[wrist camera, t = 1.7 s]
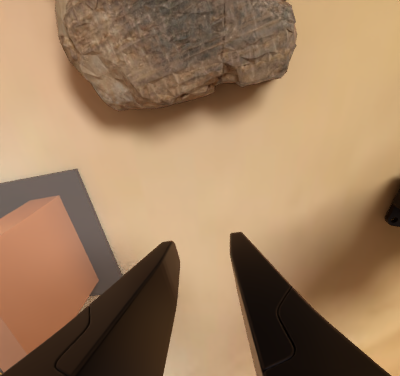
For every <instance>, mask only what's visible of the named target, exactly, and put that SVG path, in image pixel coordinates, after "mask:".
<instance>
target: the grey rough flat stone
mask: <svg viewBox="0 0 400 376" xmlns="http://www.w3.org/2000/svg"><path fill="white" fill-rule="evenodd" d="M55 12H56V20H57V28H58V36H59V40H60V42H61V44H62V46H63V49H64V51H65V53H66V55H67V57H68V59H69V61H70V62H71V64H72V65H73V66H74V67H75V68H76V69H77V70H78V71H79V72H80V73H81V74H82V76H83V77H84V78H85V79H87V80H88V81H89V82H90V83H91V84H92V86H93V87H94V89H95V91H96V92H97V93H98V95H99V96H100V97H101V99H102V100H103V101H104V102H105V103H106V104H107V105H108V106H110V107H112V108H113V109H116V110H118V111H122V110H127V109H140V108H148V109H154V108H160V107H165V106H169V105H172V104H176V103H181V102H185V101H189V100H193V99H196V98H200V97H202V96H207V95H209V94H212V93H214V89H215V86H216V85H218V84H221V83H233V82H235V83H236V84H238V85H239V86H241V87H244V86H247V85H251V84H258V83H261V82H264V81H268V80H272V79H279V78H281V77H282V76H283V75H284V74H285V73H286V72H287V69H288V65H289V61H290V59H291V56H292V54H293V51H294V49H295V47H296V38H297V32H296V28H295V22H296V21H295V17H294V13H293V10H292V5H290V4H289V3H287V2H286V0H56V6H55Z"/></svg>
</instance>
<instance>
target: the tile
mask: <svg viewBox="0 0 400 376" xmlns="http://www.w3.org/2000/svg"><path fill="white" fill-rule="evenodd" d="M98 281H99V279H98V277H97V275H96V273H95V271H94V269H93V266H92V264H91V262H90V260H89V258H88V256H87V254H86V252H85V249H84V247H83V245H82V243H81V241H80V239H79V237H78V234H77V232H76V230H75V228H74V226H73V224H72V222H71V220H70V217H69V215H68V213H67V211H66V209H65V207H64V205H63V203H62V200H61V198H60V196H59V195H58V196H52V197H46V198H41V199H35V200H30V201H28V202H27V203H25V204H23V205H22V206H20V207H19V208H17V209H15V210H14V211H12V212H10V213H9V214H7V215H5V216H4V217H2V218H0V368H1V370H2V371H3V372H5V371H7V370H8V369H9V368H10V367H12V366H13V365H14V364H16V363H17V362H18V361H20V360H21V359H22V358H24V357H25V356H26V355H28V354H29V353H30V352H31V351H33V350H34V349H35V348H37V347H38V346H39V345H41V344H42V343H43V342H45V341H46V340H47V339H48V338H50V337H51V336H52V335H54V334H55V333H56V332H57V331H59V330H60V329H61V328H62V327H64V326H65V325H66V324H67V323H68V322H70V321H71V320H72V319H73V318H74V317H76V316H77V314H78V313H79V311H80V309H81V308H82V306H83V305H84V303H85V302H86V300H87V298H88V297H89V295H90V294H91V292H92V290H93V289H94V287H95V286H96V284H97V283H98Z"/></svg>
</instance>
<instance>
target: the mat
mask: <svg viewBox="0 0 400 376" xmlns="http://www.w3.org/2000/svg"><path fill="white" fill-rule="evenodd" d="M58 195H59V196H60V198H61V200H62V203H63V205H64V207H65V209H66V211H67V213H68V215H69V217H70V220H71V222H72V224H73V226H74V228H75V230H76V232H77V234H78V237H79V239H80V241H81V243H82V245H83V247H84V249H85V252H86V254H87V256H88V258H89V260H90V262H91V264H92V266H93V269H94V271H95V273H96V275H97V277H98V279H99V281H98V283H97V284H96V286H95V287H94V289H93V290H92V292H91V294H90V295H89V296H95V295H101V294H103V293H104V292H105V291H106V290H107V289H108V288H110V287H111V286H112V285H113V284H114V283H115V282H117V281H118V280H119V279H120V278H121V277H122V274H121V272H120V269H119V267H118V265H117V262H116V260H115V258H114V255H113V253H112V250H111V248H110V246H109V243H108V241H107V239H106V236H105V234H104V231H103V229H102V227H101V224H100V222H99V220H98V217H97V215H96V212H95V210H94V208H93V205H92V203H91V201H90V198H89V196H88V193H87V191H86V189H85V186H84V184H83V182H82V179H81V177H80V174H79V172H78V170H77V169H73V170H68V171H62V172H57V173H52V174H47V175H41V176H36V177H31V178H26V179H20V180H15V181H10V182H5V183H0V218H2V217H4V216H5V215H7V214H9V213H10V212H12V211H14V210H15V209H17V208H19V207H20V206H22V205H23V204H25V203H27V202H28V201H30V200H35V199H41V198H46V197H52V196H58Z"/></svg>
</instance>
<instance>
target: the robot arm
mask: <svg viewBox="0 0 400 376" xmlns="http://www.w3.org/2000/svg"><path fill="white" fill-rule="evenodd" d="M394 217H395V218H394ZM392 218H394V219H393V220H391V219H392ZM385 221H386V222H387V223H388V224H390V225H393V226H399V227H400V189H399V191H398V193H397V195H396V197H395V199H394V201H393V203H392V205H391V207H390V209H389V210H388V212H387V214H386V216H385ZM230 257H231V262H232V267H233V272H234V277H235V282H236V287H237V291H238V296H239V301H240V306H241V310H242V315H243V319H244V323H245V328H246V332H247V336H248V340H249V345H250V349H251V353H252V358H253V362H254V366H255V371H256V375H257V376H391V375H390V374H389V373H387V372H386V371H385V370H384V369H382V368H381V367H380V366H379V365H378V364H377V363H375V362H374V361H373V360H372V359H371V358H370V357H368V356H367V355H366V354H365V353H364V352H362V351H361V350H360V349H359V348H358V347H357V346H355V345H354V344H353V343H352V342H351V341H350V340H348V339H347V338H346V337H345V336H344V335H343V334H341V333H340V332H339V331H338V330H337V329H336V328H334V327H333V326H332V325H331V324H330V323H329V322H328V321H326V320H325V319H324V318H323V317H322V316H321V315H320V314H319V313H318V312H316V311H315V310H314V309H313V308H312V307H311V306H310V305H309V304H308V303H307V302H306V301H305V300H304V299H303V298H302V297H301V295H300V294H299V293H298V292H297V291H296V290H295V289H294V288H292V286H291V285H290V284H289V283H288V282H287V280H286V279H285V278H284V277H283V276H282V275H281V274H280V273H279V272H278V271H277V270H276V269H275V268H274V266H273V265H272V264H271V263H270V262H269V261H268V260H267V259H266V258H265V257H264V256H263V255H262V253H261V252H260V251H259V250H258V249H257V248H256V247H255V246H254V245H253V244H252V243H251V242H250V240H249V239H248V238H247V237H246V236H245V235H244V234H243V233H242V232H236V233H231V234H230ZM179 272H180V259H179V256H178V252H177V249H176V246H175V243H174V242H173V241H167V242H162V243H161V244H160V245H158V246H157V247H156V248H155V249H154V250H153V251H151V252H150V253H149V254H148V255H147V256H146V257H144V258H143V259H142V260H141V261H140V262H139V263H138V264H136V265H135V266H134V267H133V268H132V269H131V270H129V271H128V272H127V273H126V274H125V275H124V276H122V277H121V278H120V279H119V280H118V281H117V282H115V283H114V284H113V285H112V286H111V287H110V288H108V289H107V290H106V291H105V292H104V293H103V294H101V295H100V296H99V297H98V298H97V299H96V300H94V301H93V302H92V303H91V304H90V307H89V306H87V307H86V308H85V309H84V310H83V311H82V312H80V313H79V314H78V315H77V316H76V317H74V318H73V319H72V320H71V321H70V322H68V323H67V324H66V325H65V326H64V327H62V328H61V329H60V330H59V331H57V332H56V333H55V334H54V335H52V336H51V337H50V338H48V339H47V340H46V341H45V342H43V343H42V344H41V345H39V346H38V347H37V348H35V349H34V350H33V351H31V352H30V353H29V354H28V355H26V356H25V357H24V358H22V359H21V360H20V361H18V362H17V363H16V364H14V365H13V366H12V367H10V368H9V369H8V370H7V371H5V372H4V373H3V374H1V375H0V376H163V373H164V368H165V363H166V358H167V353H168V348H169V342H170V337H171V332H172V327H173V322H174V317H175V312H176V306H177V298H178V285H179Z"/></svg>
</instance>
